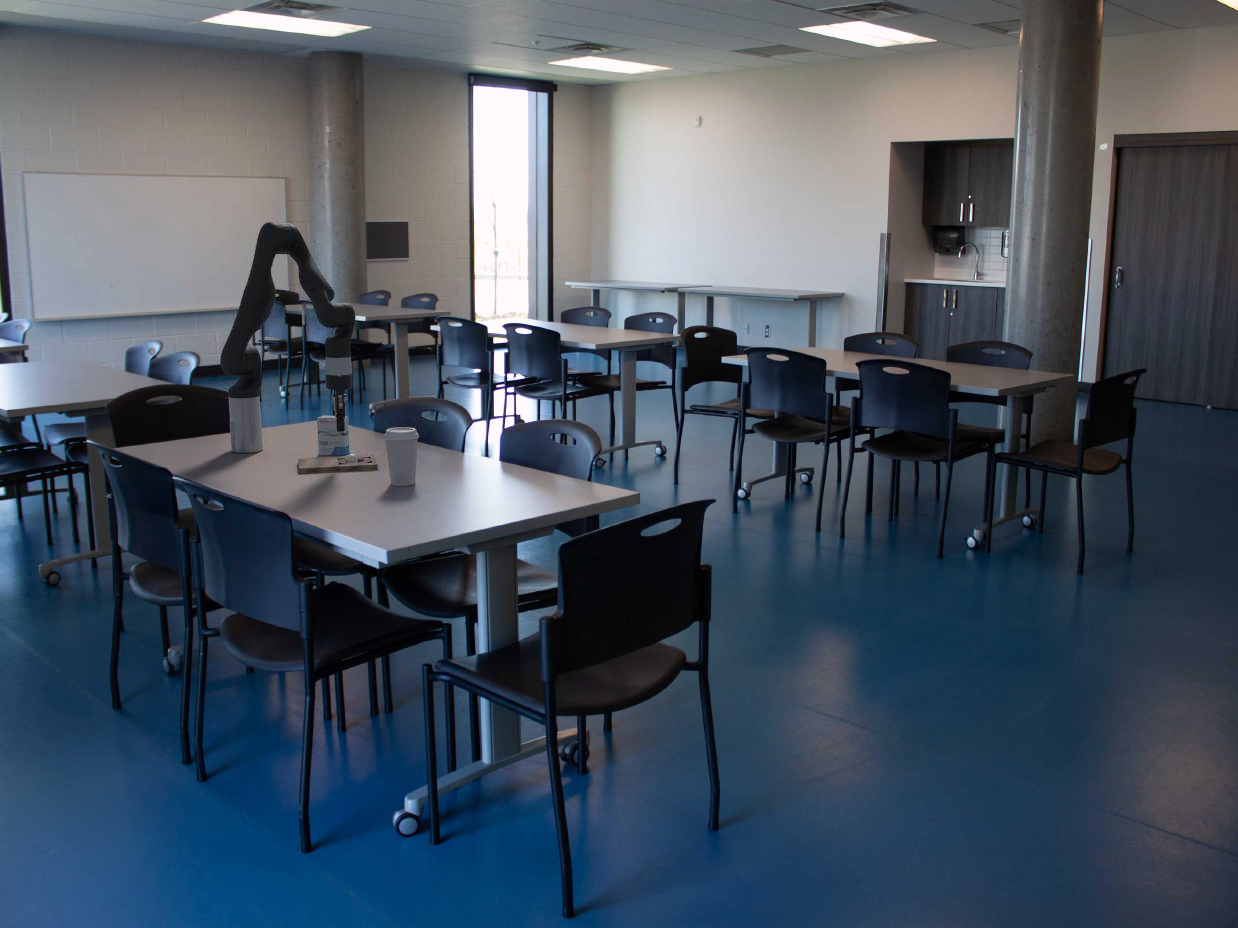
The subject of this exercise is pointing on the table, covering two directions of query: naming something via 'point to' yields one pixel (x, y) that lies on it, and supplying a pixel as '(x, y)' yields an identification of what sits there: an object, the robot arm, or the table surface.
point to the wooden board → (336, 464)
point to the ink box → (332, 436)
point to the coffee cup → (402, 455)
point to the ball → (351, 458)
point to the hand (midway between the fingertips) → (340, 431)
